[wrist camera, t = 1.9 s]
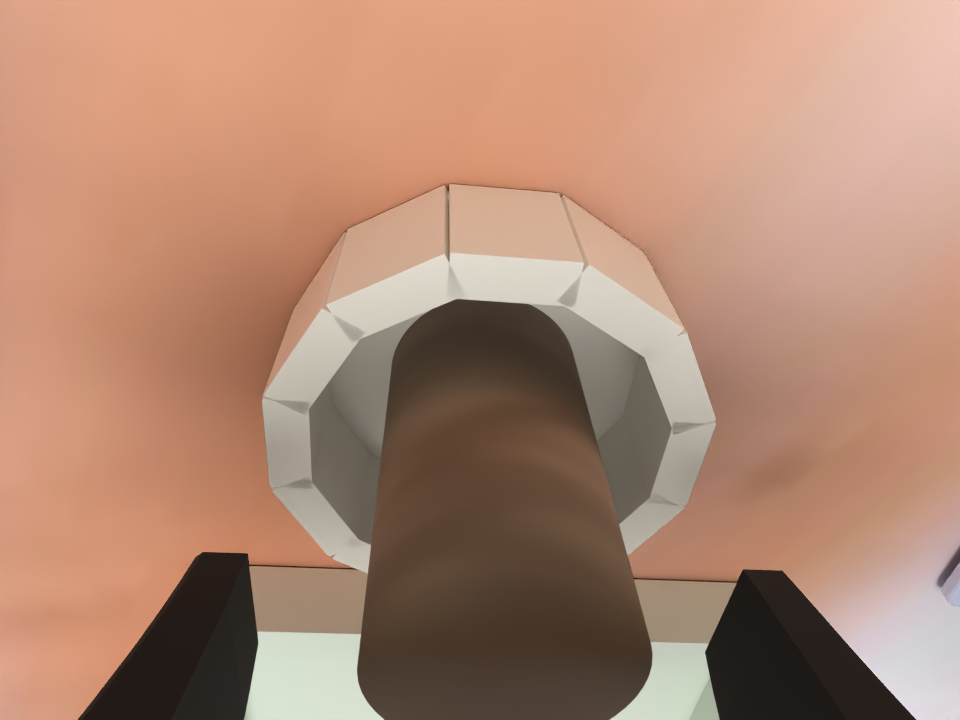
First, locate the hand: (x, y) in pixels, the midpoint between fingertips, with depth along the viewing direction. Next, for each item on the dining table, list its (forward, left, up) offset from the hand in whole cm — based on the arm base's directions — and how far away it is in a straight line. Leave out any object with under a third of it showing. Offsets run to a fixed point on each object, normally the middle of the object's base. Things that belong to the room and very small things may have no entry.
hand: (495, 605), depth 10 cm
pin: (0, 0, -6) cm, 6 cm away
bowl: (0, 0, -6) cm, 6 cm away
